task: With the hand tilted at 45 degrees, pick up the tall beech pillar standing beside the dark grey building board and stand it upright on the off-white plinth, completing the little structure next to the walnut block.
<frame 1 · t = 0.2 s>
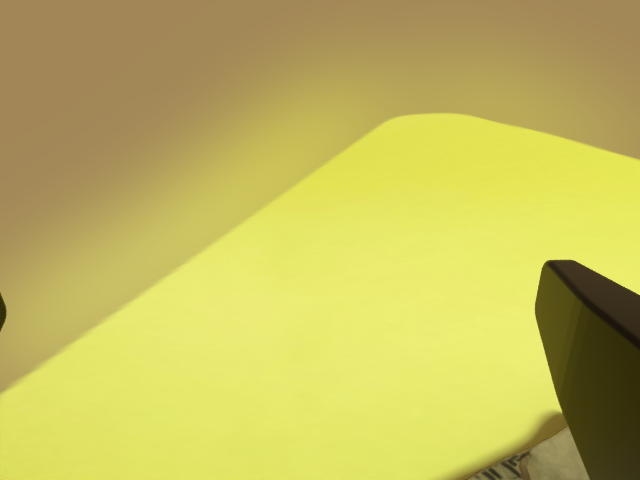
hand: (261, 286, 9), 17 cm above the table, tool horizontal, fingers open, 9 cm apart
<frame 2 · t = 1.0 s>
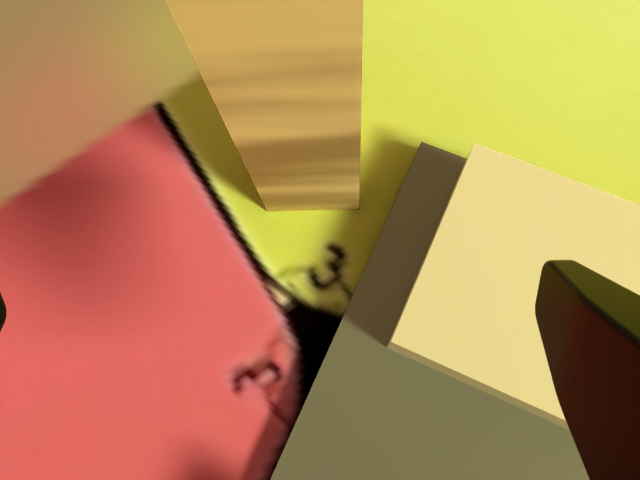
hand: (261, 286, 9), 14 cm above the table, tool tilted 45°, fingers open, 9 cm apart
building board: (440, 462, 21), on the table
beech pillar: (312, 167, 24), on the table
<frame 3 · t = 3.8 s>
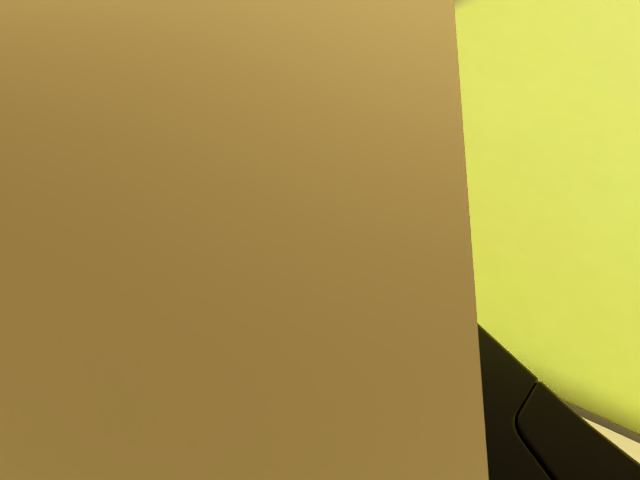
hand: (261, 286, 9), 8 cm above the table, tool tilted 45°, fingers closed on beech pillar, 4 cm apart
beech pillar: (302, 381, 16), on the table, touching gripper
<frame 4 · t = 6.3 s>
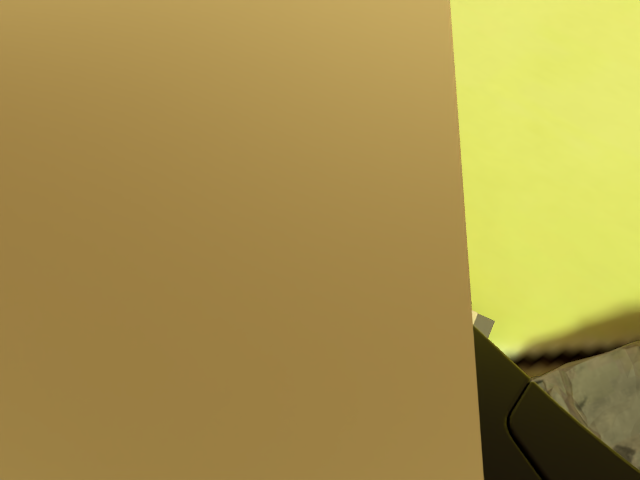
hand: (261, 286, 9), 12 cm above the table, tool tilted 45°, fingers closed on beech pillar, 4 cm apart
beech pillar: (301, 380, 16), point 4 cm above the table, touching gripper
when the fingers open (12 cm above the table, at t = 6.5 s): beech pillar stays where it is, resting on building board.
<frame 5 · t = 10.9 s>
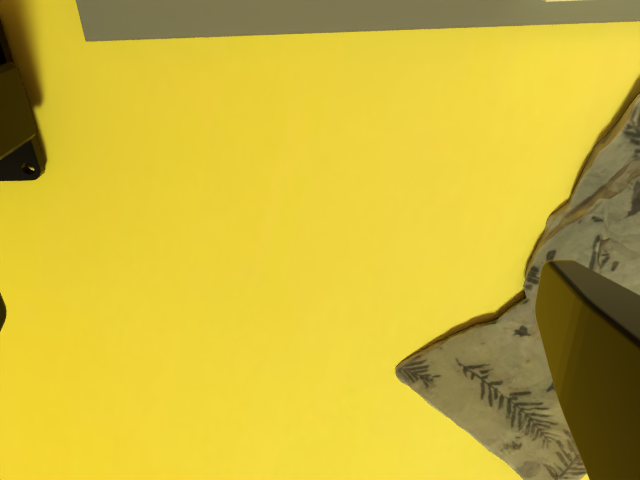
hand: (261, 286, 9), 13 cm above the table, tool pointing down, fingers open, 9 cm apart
fossil rock: (595, 305, 25), on the table
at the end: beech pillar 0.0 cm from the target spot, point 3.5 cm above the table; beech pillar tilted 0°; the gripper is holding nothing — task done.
